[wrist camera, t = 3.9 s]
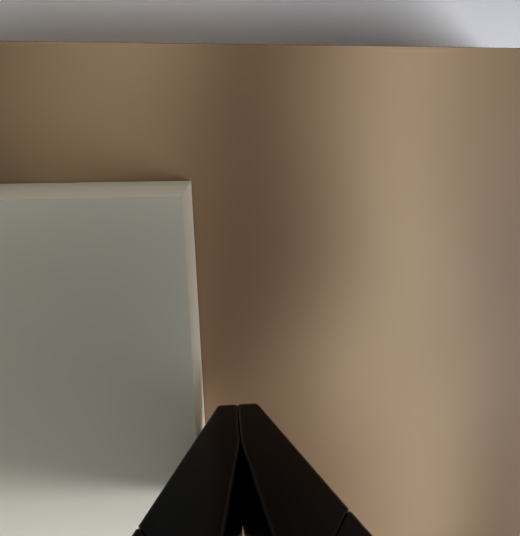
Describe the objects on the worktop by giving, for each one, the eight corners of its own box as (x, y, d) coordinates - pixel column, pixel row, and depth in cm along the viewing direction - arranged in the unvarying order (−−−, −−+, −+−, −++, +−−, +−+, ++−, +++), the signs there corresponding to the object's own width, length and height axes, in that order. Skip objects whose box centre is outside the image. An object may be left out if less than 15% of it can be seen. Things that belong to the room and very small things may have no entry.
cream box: (190, 180, 8) (181, 196, 6) (211, 532, 11) (208, 616, 9) (-140, 186, 8) (-258, 204, 6) (-32, 551, 11) (-87, 643, 9)
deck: (509, 74, 12) (641, 49, 8) (419, 616, 19) (468, 739, 15) (-11, 70, 11) (-135, 38, 7) (94, 647, 18) (60, 787, 14)
